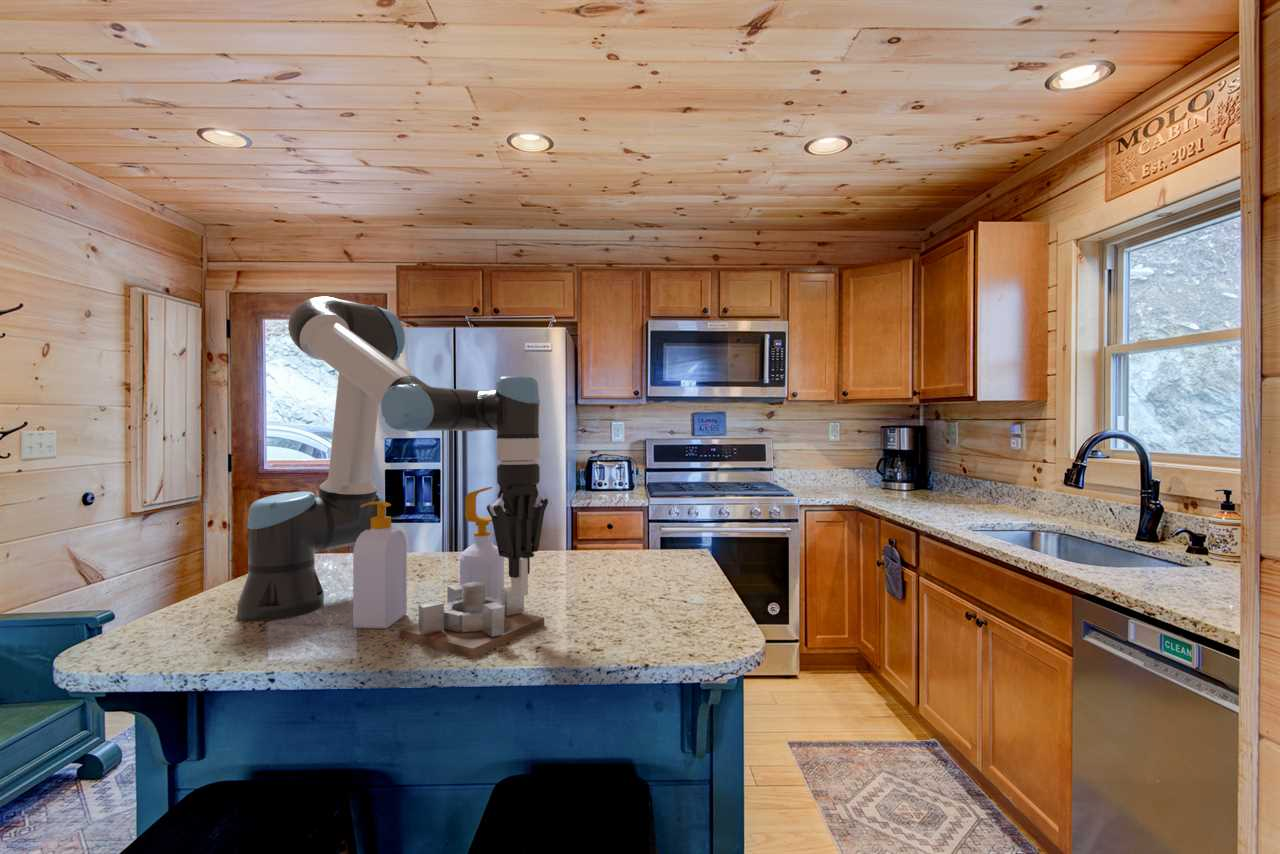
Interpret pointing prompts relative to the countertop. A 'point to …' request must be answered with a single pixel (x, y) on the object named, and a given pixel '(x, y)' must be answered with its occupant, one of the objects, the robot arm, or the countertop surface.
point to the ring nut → (469, 613)
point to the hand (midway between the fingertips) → (519, 594)
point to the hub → (473, 640)
